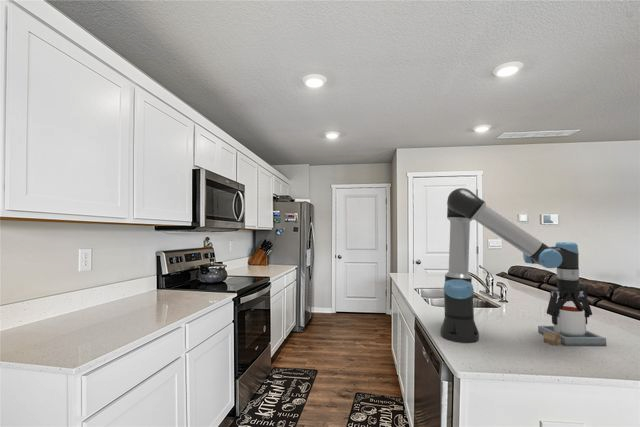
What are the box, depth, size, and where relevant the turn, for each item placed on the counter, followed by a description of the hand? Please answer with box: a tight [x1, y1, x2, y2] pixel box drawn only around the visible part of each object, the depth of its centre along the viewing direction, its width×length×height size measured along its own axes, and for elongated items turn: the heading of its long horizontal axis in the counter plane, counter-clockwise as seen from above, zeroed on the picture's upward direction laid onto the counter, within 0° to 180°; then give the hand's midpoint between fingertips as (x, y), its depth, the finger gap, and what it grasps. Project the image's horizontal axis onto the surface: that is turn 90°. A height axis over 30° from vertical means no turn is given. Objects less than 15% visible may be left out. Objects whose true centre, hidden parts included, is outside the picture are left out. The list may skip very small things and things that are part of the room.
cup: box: [557, 305, 585, 336], centre depth 134 cm, size 10×10×10 cm
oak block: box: [543, 331, 562, 346], centre depth 129 cm, size 4×4×4 cm
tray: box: [537, 325, 607, 347], centre depth 134 cm, size 16×16×3 cm
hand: (569, 332), depth 134 cm, fingers closed on cup, 10 cm apart
